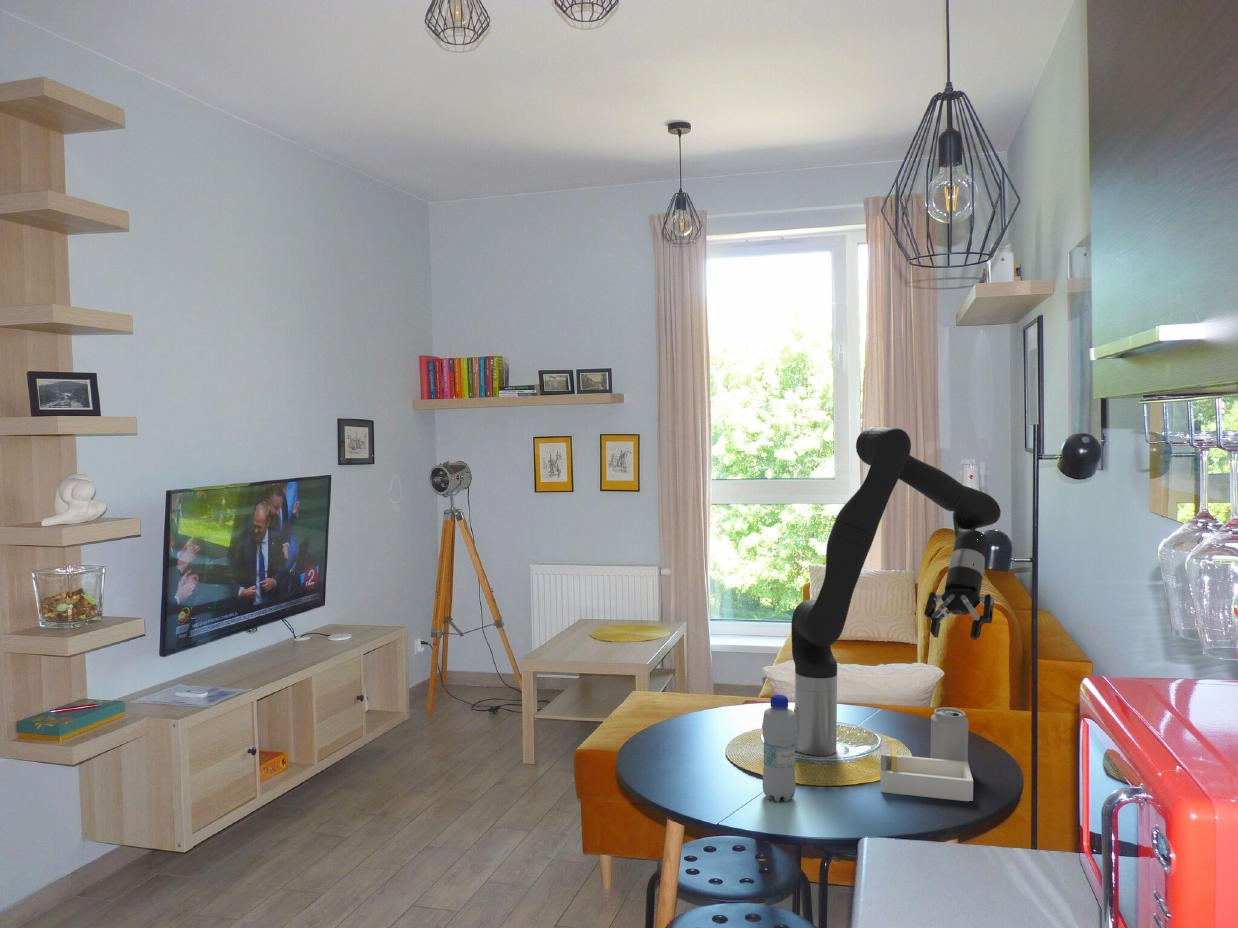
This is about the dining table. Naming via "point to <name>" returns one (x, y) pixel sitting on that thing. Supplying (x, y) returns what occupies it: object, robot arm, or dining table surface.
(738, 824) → the dining table surface
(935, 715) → the can
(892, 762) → the pusher paddle
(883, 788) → the white open box
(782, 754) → the bottle
